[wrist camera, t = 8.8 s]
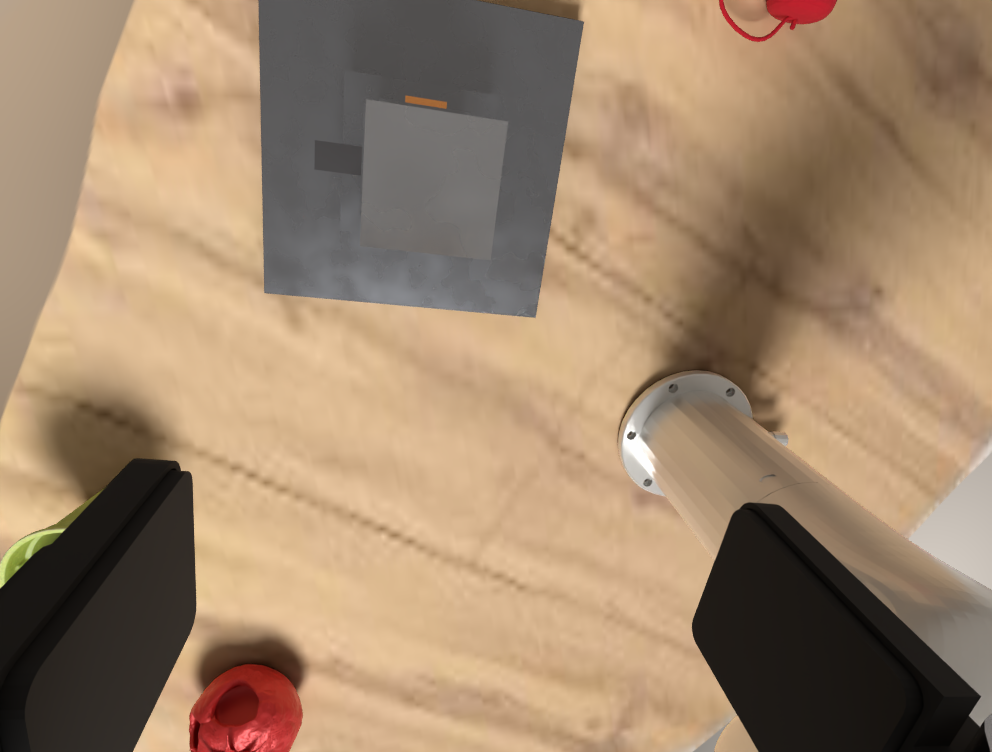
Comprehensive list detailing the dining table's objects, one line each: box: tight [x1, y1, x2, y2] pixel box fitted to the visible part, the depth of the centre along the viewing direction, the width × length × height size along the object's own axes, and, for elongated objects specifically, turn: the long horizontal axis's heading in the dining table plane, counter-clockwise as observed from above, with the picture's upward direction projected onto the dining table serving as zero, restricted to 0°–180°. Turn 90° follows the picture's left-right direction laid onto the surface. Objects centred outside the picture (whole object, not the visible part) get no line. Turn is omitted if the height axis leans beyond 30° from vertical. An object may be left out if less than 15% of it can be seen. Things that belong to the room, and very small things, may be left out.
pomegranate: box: [189, 664, 303, 752], centre depth 51 cm, size 10×10×9 cm
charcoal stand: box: [259, 0, 584, 318], centre depth 32 cm, size 20×20×16 cm
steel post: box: [360, 99, 508, 260], centre depth 20 cm, size 3×3×17 cm
